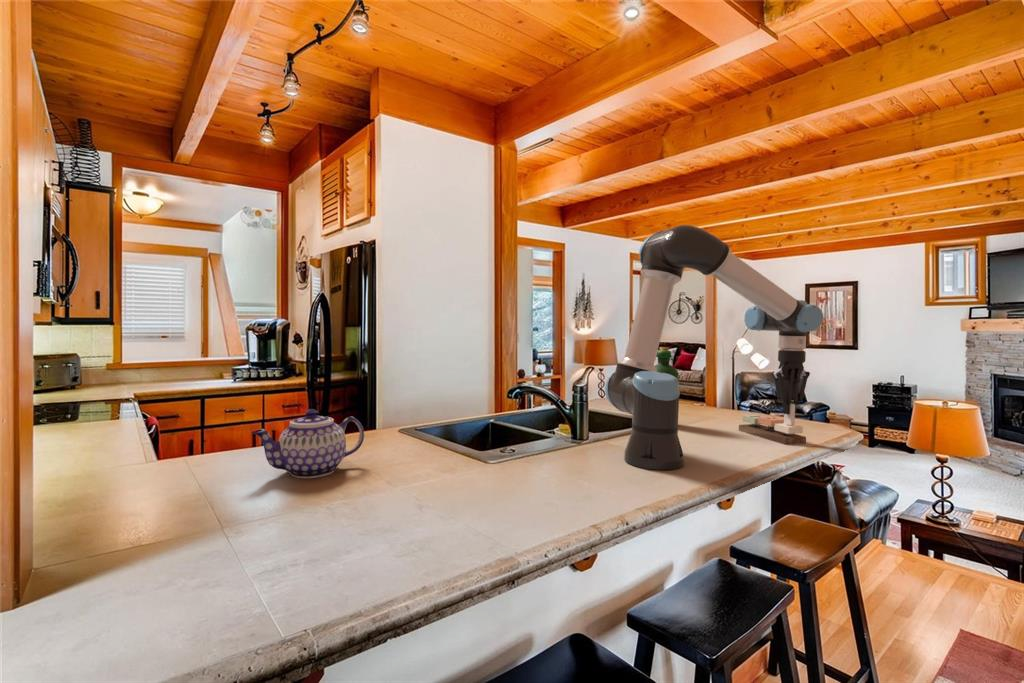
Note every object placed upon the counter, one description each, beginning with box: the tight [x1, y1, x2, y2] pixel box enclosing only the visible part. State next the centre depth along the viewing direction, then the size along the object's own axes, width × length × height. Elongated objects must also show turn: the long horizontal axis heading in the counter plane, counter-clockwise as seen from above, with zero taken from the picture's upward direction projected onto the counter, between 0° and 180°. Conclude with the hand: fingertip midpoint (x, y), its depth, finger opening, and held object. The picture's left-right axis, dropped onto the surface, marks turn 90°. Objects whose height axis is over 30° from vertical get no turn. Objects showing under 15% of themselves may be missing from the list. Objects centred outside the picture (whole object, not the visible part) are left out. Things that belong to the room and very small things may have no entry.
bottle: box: [654, 346, 680, 381], centre depth 180 cm, size 11×11×28 cm
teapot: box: [253, 408, 365, 479], centre depth 118 cm, size 25×15×15 cm, turn 125°
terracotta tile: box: [758, 416, 784, 432], centre depth 164 cm, size 6×6×4 cm
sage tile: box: [742, 414, 763, 427], centre depth 171 cm, size 6×6×4 cm
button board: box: [738, 423, 807, 445], centre depth 165 cm, size 8×20×2 cm, turn 17°
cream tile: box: [774, 423, 804, 437], centre depth 158 cm, size 6×6×4 cm
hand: (789, 424), depth 158 cm, fingers closed
